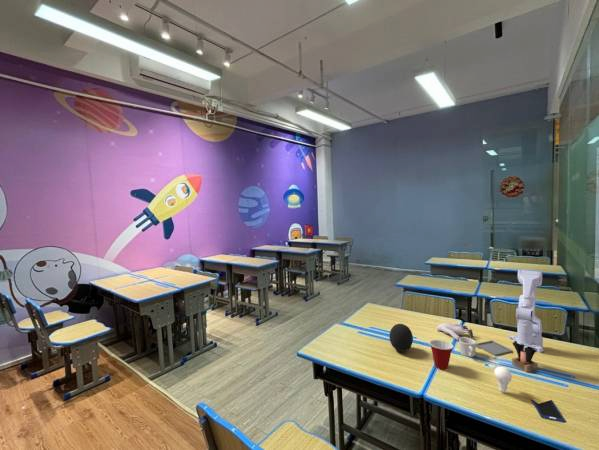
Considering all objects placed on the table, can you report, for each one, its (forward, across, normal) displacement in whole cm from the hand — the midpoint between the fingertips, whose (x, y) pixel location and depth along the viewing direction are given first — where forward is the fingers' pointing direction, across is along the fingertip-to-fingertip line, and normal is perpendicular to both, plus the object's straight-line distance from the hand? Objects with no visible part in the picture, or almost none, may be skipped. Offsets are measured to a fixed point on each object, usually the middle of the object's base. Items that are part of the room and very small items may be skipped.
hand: (524, 359), depth 135 cm
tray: (+4, -18, +2) cm, 19 cm away
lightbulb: (+4, +10, -26) cm, 28 cm away
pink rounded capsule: (+4, 0, 0) cm, 4 cm away
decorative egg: (+5, -34, -45) cm, 57 cm away
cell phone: (+5, +22, -19) cm, 29 cm away
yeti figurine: (+5, -40, -2) cm, 41 cm away
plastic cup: (+5, -14, -36) cm, 39 cm away
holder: (+4, 0, 0) cm, 4 cm away
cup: (+5, -17, -16) cm, 24 cm away
